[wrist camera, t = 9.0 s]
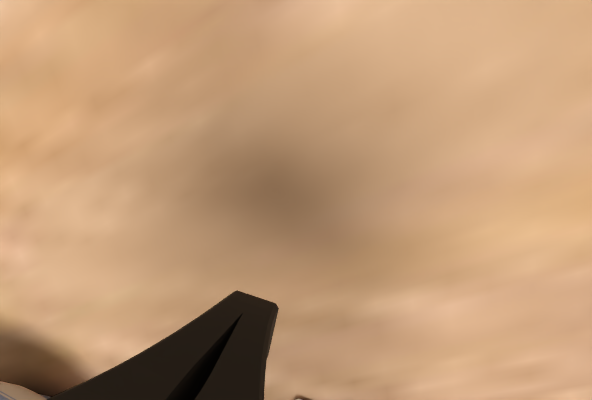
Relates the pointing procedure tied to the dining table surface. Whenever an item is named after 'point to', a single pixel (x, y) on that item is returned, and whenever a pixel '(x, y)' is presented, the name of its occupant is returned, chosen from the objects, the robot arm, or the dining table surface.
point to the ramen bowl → (18, 393)
